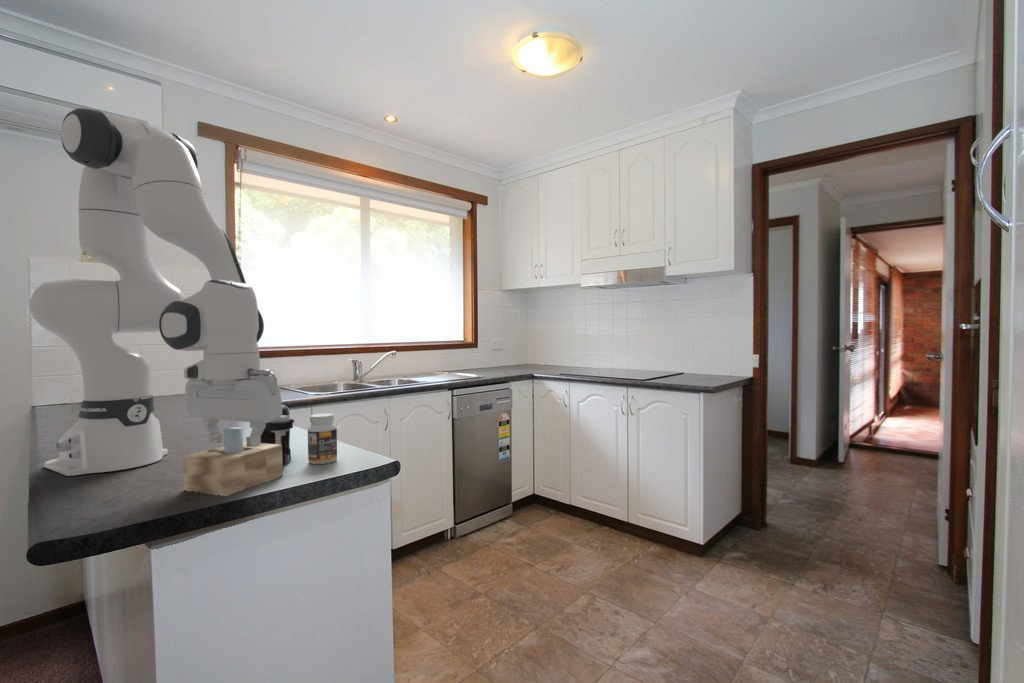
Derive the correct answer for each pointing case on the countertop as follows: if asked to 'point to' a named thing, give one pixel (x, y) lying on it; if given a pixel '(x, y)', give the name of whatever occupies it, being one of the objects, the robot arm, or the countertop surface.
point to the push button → (282, 435)
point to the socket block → (232, 469)
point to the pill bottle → (322, 439)
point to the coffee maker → (269, 436)
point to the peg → (233, 440)
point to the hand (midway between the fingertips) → (234, 444)
